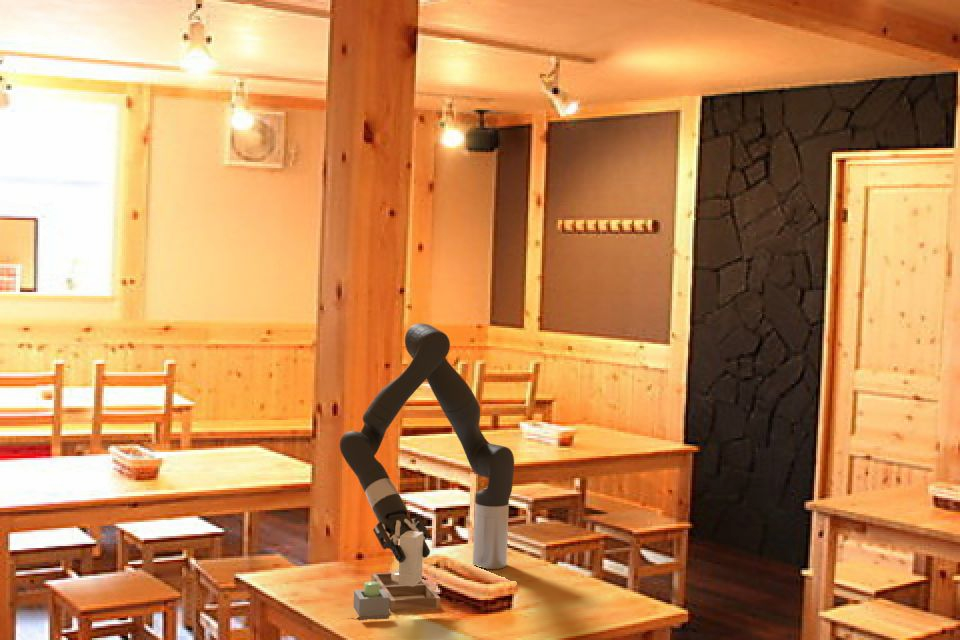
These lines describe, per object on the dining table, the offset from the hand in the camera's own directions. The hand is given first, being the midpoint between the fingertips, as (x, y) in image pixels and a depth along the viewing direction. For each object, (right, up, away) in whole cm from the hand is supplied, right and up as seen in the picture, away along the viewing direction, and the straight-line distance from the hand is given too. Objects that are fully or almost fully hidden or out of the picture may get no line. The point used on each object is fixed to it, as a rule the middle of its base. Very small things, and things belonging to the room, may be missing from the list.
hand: (415, 558), depth 290 cm
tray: (-3, -11, +7) cm, 14 cm away
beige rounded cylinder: (-5, -10, +12) cm, 17 cm away
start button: (-10, -9, -6) cm, 15 cm away
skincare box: (-1, -6, +1) cm, 7 cm away
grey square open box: (-10, -12, -6) cm, 17 cm away
